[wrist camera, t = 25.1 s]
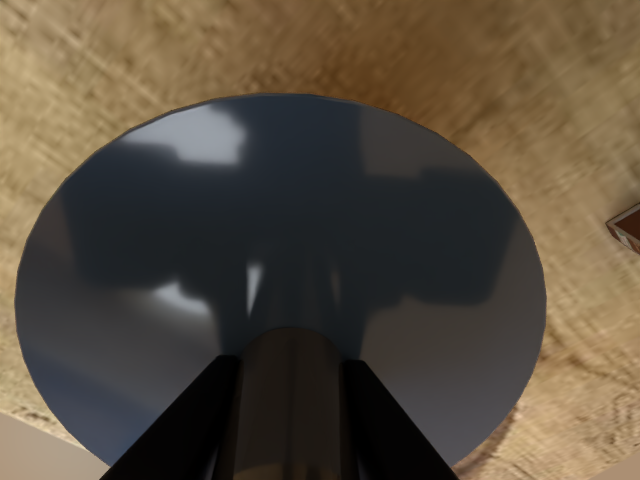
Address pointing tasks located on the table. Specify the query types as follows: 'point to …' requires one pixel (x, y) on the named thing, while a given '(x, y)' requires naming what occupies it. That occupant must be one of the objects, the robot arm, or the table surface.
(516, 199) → the table surface
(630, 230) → the food container
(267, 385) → the lid
